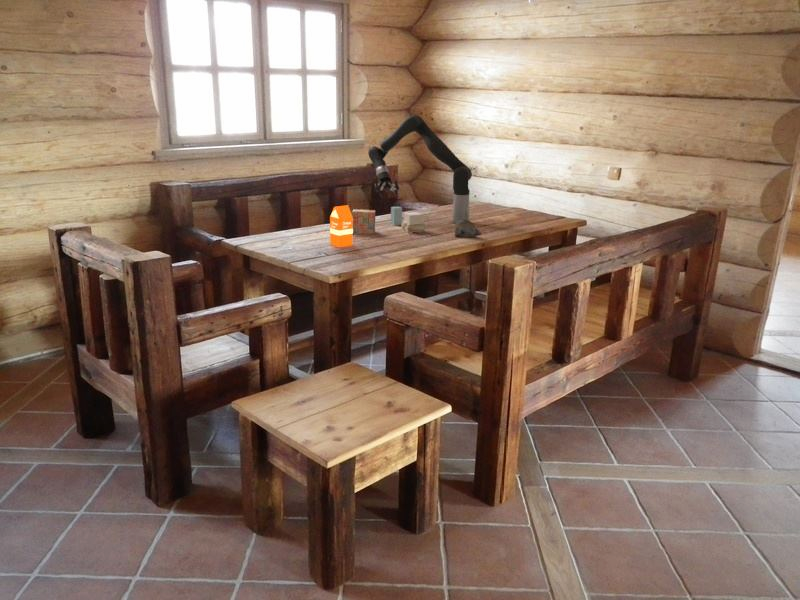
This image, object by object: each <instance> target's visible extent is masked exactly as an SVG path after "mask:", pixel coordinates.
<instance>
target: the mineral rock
mask: <svg viewBox="0 0 800 600" xmlns="http://www.w3.org/2000/svg"><path fill="white" fill-rule="evenodd" d="M480 231H481V230H480V229H478V228H476V226H475V224H474V223H473V222H472V221H470V219H469V220H467V219H463V220H458V221H457V223H456V224H455V228H454V237H457V236H458V238H459V237H460V238H461V237H462V238H464V237H465V238H472V237H477V236H481V235H482V233H481V232H480Z"/></svg>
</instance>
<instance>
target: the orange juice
mask: <svg viewBox="0 0 800 600" xmlns="http://www.w3.org/2000/svg"><path fill="white" fill-rule="evenodd" d="M349 206H350V205H349V204H347V205H339V206H334V207H333V209H332V212H331V214H330V216H329V226H330V227H329V234H330V236H329V237H330V238H329V241H330V245H331V246H334V247H337V248H343V247H344V248H345V247H349V246H353V245H354V243H353V241H354V240H353V238H354V235H353V234H354V233H353V217H352V211H351V209H350V207H349Z"/></svg>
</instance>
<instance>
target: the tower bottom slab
mask: <svg viewBox="0 0 800 600" xmlns="http://www.w3.org/2000/svg"><path fill="white" fill-rule="evenodd" d="M425 226H426V223H424V222H423V223H421V224H408V223H406V222H404V220H402V221H401V225H400V229H403V230H404V231H403V230H402V231H403V232H405V231H406V232H405V233H407V232H408V233H407V234H411V233H410V232H418V233H425V232H426V231H425V230H426V229H425V228H426V227H425Z"/></svg>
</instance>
